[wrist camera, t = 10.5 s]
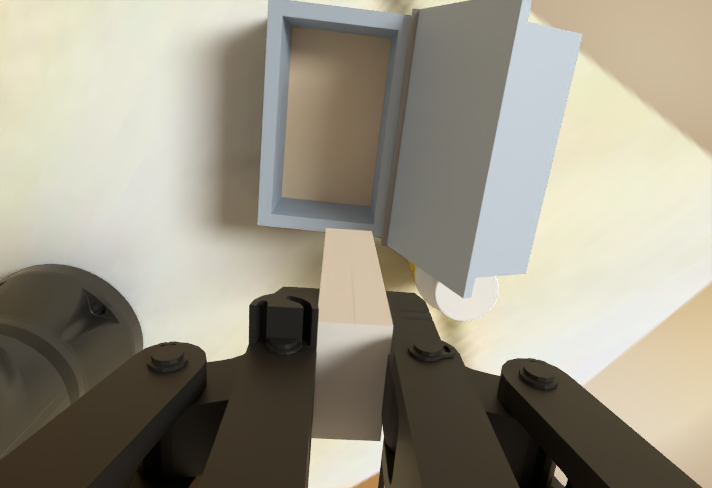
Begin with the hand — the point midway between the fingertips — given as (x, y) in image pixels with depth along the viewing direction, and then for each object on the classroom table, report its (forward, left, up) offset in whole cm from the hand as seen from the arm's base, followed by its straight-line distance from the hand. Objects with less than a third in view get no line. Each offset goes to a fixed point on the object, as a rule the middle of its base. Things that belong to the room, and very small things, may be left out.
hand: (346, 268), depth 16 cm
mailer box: (-1, +3, -28) cm, 28 cm away
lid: (+5, +3, -16) cm, 17 cm away
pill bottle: (+9, -7, -28) cm, 31 cm away
